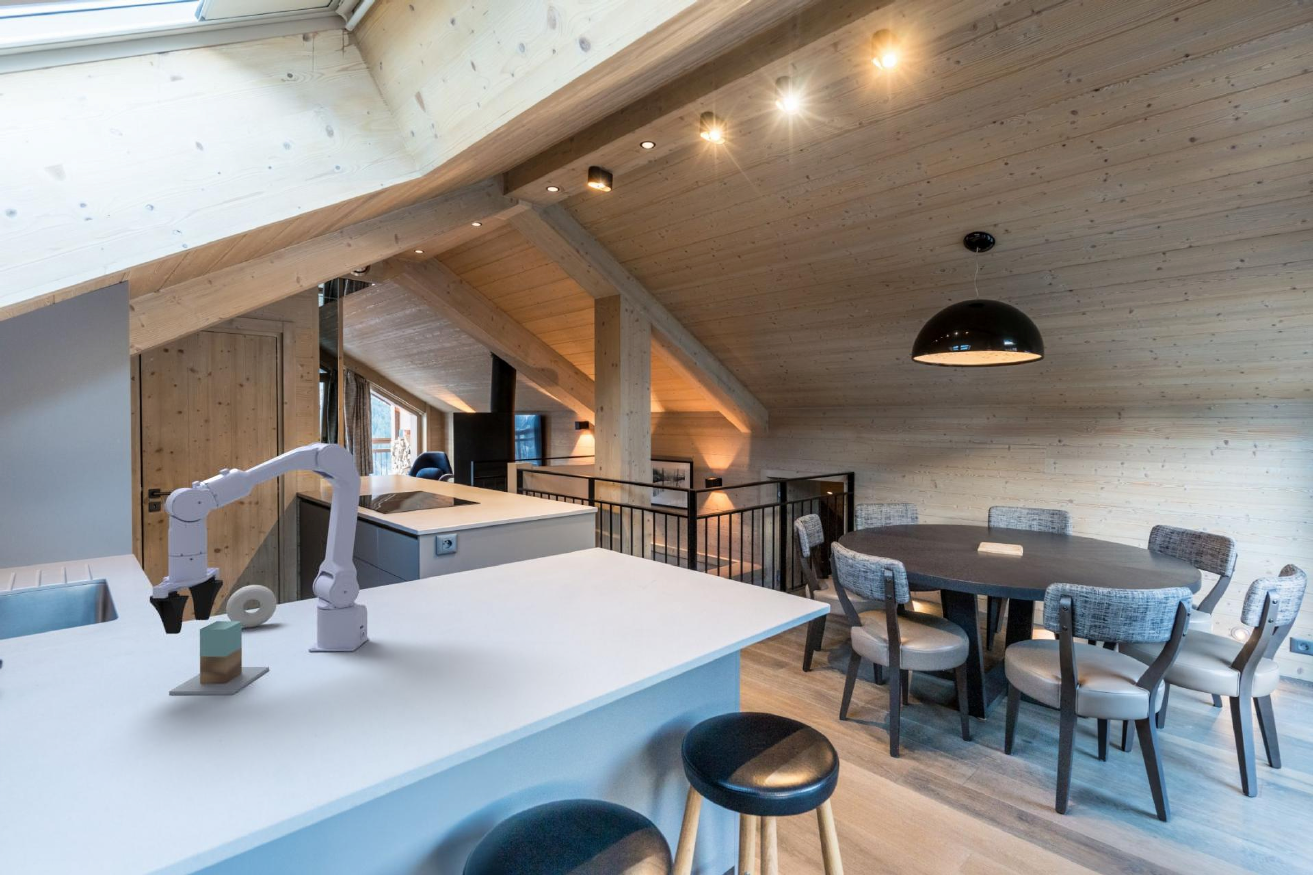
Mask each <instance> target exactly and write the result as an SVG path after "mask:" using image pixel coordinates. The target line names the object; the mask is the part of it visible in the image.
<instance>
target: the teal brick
mask: <svg viewBox="0 0 1313 875" xmlns="http://www.w3.org/2000/svg"><path fill="white" fill-rule="evenodd" d="M242 628H243V627H242V621H231V620H228V621H223V620H221V621H219V620H217V621H214V622H212V623H210V624H208V625H206V626H203V627H202V628H200V629H199V658H200V657H226V656H228V655H229V654H231V653H233V652H235V651H236V650H238V649H240V648H242V645H243V642H242V636H243V635H242V634H243V633H242ZM242 649H243V648H242Z"/></svg>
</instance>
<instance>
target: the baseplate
mask: <svg viewBox="0 0 1313 875" xmlns="http://www.w3.org/2000/svg"><path fill="white" fill-rule="evenodd" d="M268 671H270V667H269V666H242V674H240V675H239V676H237V677H236V678H234V679H232V680H231V681H229V682H228V683H226V684H200V673H199V674H197V675H194V676H193V677H192V678H190V679H188V680H187V681H185V682H183V683H182V684H179V685H178V686H176V687H174V688H173V689H171V690H169V691H168V695H170V696H175V695H178V696H179V695H180V696H183V695H185V696H186V695H188V696H189V695H190V696H191V695H192V696H195V695H198V696H201V695H202V696H203V695H206V696H207V695H211V696H215V695H217V696H218V695H219V696H221V695H222V696H223V695H224V696H225V695H230V696H231V695H232V696H233V695H235V694H236V693H238V692H239V691H240V690H242V689H244V688H245V687H246V686H248V685H249V684H251V683H252V682H254V681H255V680H257V679H258V678H259V677H261V676H262V675H264V674H266V673H267V672H268Z"/></svg>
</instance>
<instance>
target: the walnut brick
mask: <svg viewBox="0 0 1313 875" xmlns="http://www.w3.org/2000/svg"><path fill="white" fill-rule="evenodd" d="M242 649H243V648H240V649H238V650H236V651H235V652H233V653H231V654H229V655H228V656H226V657H200V656H199V674H200V684H226V683H228V682H229V681H231V680H232V679H234V678H236V677H237V676H239V675H240V674H242V667H243V665H242V664H243V663H242V662H243V654H242V653H243V650H242Z"/></svg>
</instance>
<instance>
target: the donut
mask: <svg viewBox="0 0 1313 875" xmlns="http://www.w3.org/2000/svg"><path fill="white" fill-rule="evenodd" d="M250 600H256V601H257V602H259V605H260V606H259V608H258V609H257V610H256V611H253V612H249V611H248V612H247V611H246V610H245V609H244V605H245V603H247V602H248V601H250ZM277 604H278V603H277V597H276V595H275V594H274V592H273V591H272V590H271V589H270V588H269V587H267V586H264V585H261V584H250V585H249V584H248V585H246V586H243V587H240V588H239V589H237V590H236V591H234V593H232V595H230V597H229V599H228V600H227V602H226V607H225V612H226V616H227V618H228V619H229V621H242V628H255V627H259V626H261V625H263V624H265V623H266V622H268V621H269V620H270V619H271V618H272V617H273V615H274V613H275V611H276V609H277Z"/></svg>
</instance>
